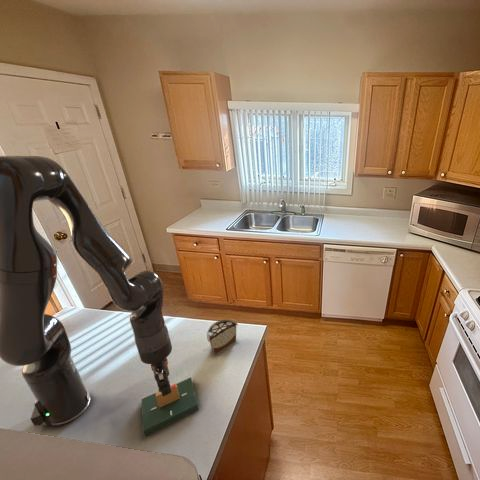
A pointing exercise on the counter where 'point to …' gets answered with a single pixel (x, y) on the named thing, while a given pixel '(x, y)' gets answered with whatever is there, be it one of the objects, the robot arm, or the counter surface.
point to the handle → (167, 396)
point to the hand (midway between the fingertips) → (165, 382)
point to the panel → (168, 408)
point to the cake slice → (222, 335)
